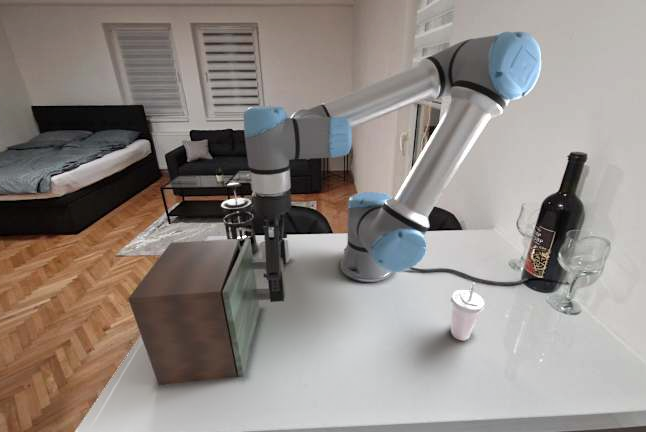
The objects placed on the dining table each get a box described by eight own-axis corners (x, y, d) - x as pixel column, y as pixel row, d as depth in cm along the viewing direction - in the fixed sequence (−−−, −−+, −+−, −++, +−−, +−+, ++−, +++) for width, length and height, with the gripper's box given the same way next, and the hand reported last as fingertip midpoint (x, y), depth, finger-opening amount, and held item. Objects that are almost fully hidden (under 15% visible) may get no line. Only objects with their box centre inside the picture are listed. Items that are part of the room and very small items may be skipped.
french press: (251, 260, 94) (241, 190, 85) (222, 258, 95) (209, 189, 86) (263, 242, 105) (256, 178, 95) (237, 240, 106) (227, 177, 96)
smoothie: (461, 349, 63) (473, 295, 57) (438, 329, 68) (447, 277, 62) (482, 338, 65) (496, 285, 60) (458, 319, 71) (469, 269, 65)
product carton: (290, 261, 94) (288, 240, 91) (276, 270, 89) (274, 248, 86) (275, 255, 97) (273, 235, 94) (261, 264, 92) (259, 243, 89)
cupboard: (250, 311, 73) (239, 238, 65) (237, 377, 57) (220, 291, 49) (189, 316, 72) (170, 242, 64) (158, 385, 56) (127, 298, 47)
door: (288, 309, 74) (282, 237, 66) (280, 374, 57) (271, 290, 49) (255, 310, 73) (245, 239, 65) (238, 376, 57) (222, 292, 49)
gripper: (258, 173, 70) (266, 252, 79) (240, 217, 47) (255, 322, 56) (291, 172, 71) (295, 251, 79) (289, 215, 48) (295, 318, 57)
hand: (279, 280), depth 68 cm, fingers open, 13 cm apart
